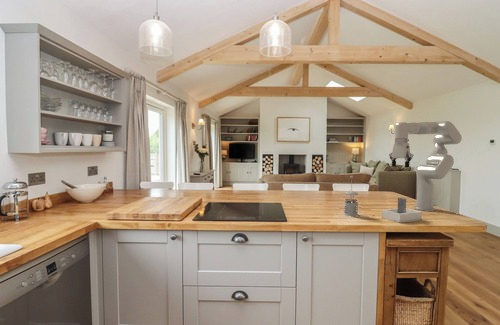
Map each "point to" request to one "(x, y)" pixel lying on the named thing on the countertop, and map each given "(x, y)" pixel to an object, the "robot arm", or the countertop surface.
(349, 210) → the french press
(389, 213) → the grey shallow tray
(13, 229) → the countertop surface
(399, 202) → the steel bracket
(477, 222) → the countertop surface
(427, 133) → the robot arm
